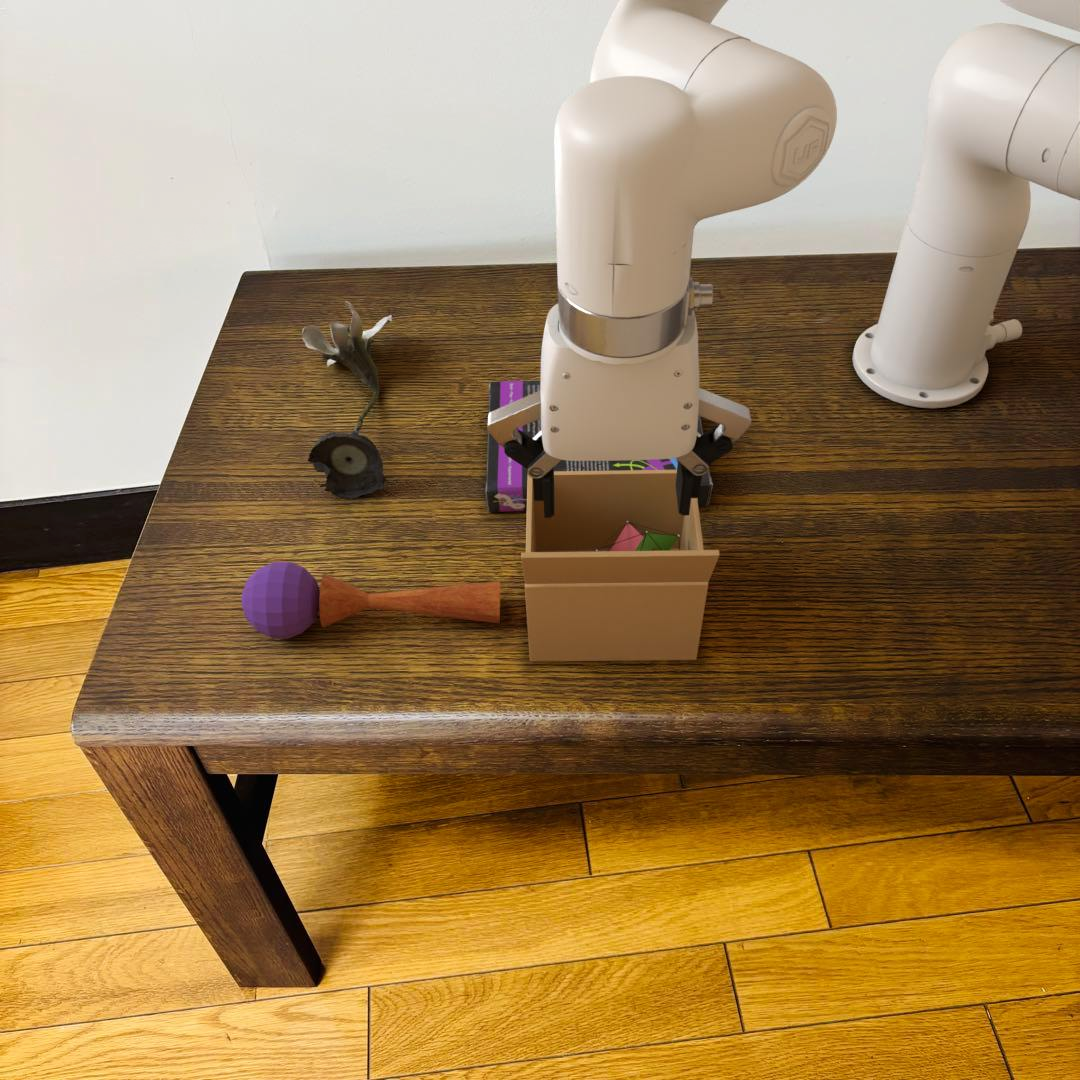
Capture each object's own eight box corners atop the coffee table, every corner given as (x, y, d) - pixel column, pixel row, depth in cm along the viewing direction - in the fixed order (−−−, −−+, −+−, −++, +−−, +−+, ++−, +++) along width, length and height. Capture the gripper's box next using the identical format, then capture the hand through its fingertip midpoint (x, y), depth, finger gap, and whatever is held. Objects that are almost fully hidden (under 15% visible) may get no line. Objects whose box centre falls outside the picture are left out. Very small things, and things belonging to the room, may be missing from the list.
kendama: (500, 620, 75) (229, 617, 74) (498, 652, 80) (245, 650, 79) (500, 550, 78) (240, 547, 77) (499, 585, 83) (255, 583, 82)
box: (487, 517, 87) (710, 509, 87) (483, 490, 85) (714, 482, 84) (492, 407, 96) (695, 400, 96) (488, 380, 94) (697, 372, 93)
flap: (719, 549, 64) (719, 555, 64) (708, 576, 69) (708, 582, 69) (521, 552, 64) (521, 558, 64) (525, 578, 69) (525, 584, 69)
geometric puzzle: (577, 515, 77) (661, 523, 72) (631, 522, 82) (713, 529, 77) (567, 607, 77) (650, 622, 72) (622, 608, 82) (703, 622, 77)
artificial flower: (304, 512, 90) (250, 425, 83) (349, 372, 106) (307, 291, 100) (395, 491, 88) (347, 401, 81) (427, 353, 104) (389, 268, 98)
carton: (684, 547, 84) (693, 469, 77) (696, 660, 77) (708, 585, 69) (532, 549, 84) (527, 471, 77) (530, 661, 77) (524, 587, 70)
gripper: (762, 263, 61) (730, 462, 74) (478, 271, 61) (497, 467, 74) (780, 342, 56) (743, 540, 69) (471, 349, 56) (493, 544, 69)
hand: (615, 502), depth 72 cm, fingers open, 9 cm apart
